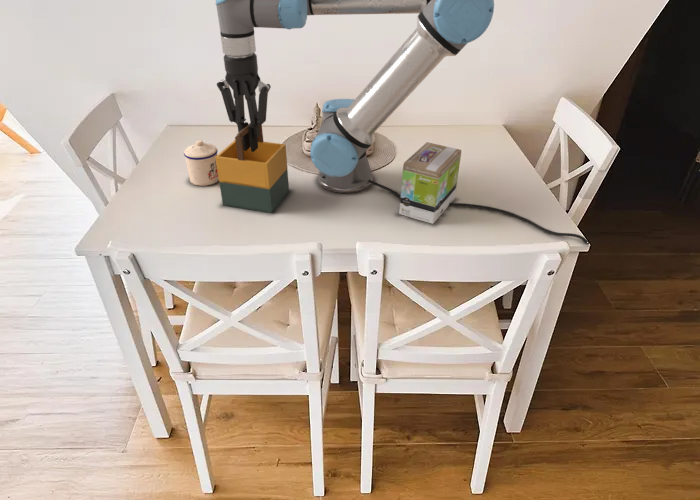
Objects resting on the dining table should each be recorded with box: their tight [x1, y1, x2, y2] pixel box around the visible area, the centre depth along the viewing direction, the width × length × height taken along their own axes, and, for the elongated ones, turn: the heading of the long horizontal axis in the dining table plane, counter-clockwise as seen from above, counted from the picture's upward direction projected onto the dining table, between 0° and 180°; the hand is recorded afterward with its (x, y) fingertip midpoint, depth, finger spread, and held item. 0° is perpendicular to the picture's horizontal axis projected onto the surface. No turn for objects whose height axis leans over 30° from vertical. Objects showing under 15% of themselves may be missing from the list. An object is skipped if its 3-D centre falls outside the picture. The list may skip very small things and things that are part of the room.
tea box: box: [398, 141, 462, 225], centre depth 137 cm, size 15×10×15 cm
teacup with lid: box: [183, 139, 219, 187], centre depth 152 cm, size 12×9×12 cm
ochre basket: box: [215, 122, 288, 189], centre depth 137 cm, size 14×12×14 cm
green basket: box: [218, 169, 290, 214], centre depth 143 cm, size 14×12×7 cm
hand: (250, 148), depth 137 cm, fingers closed on ochre basket
